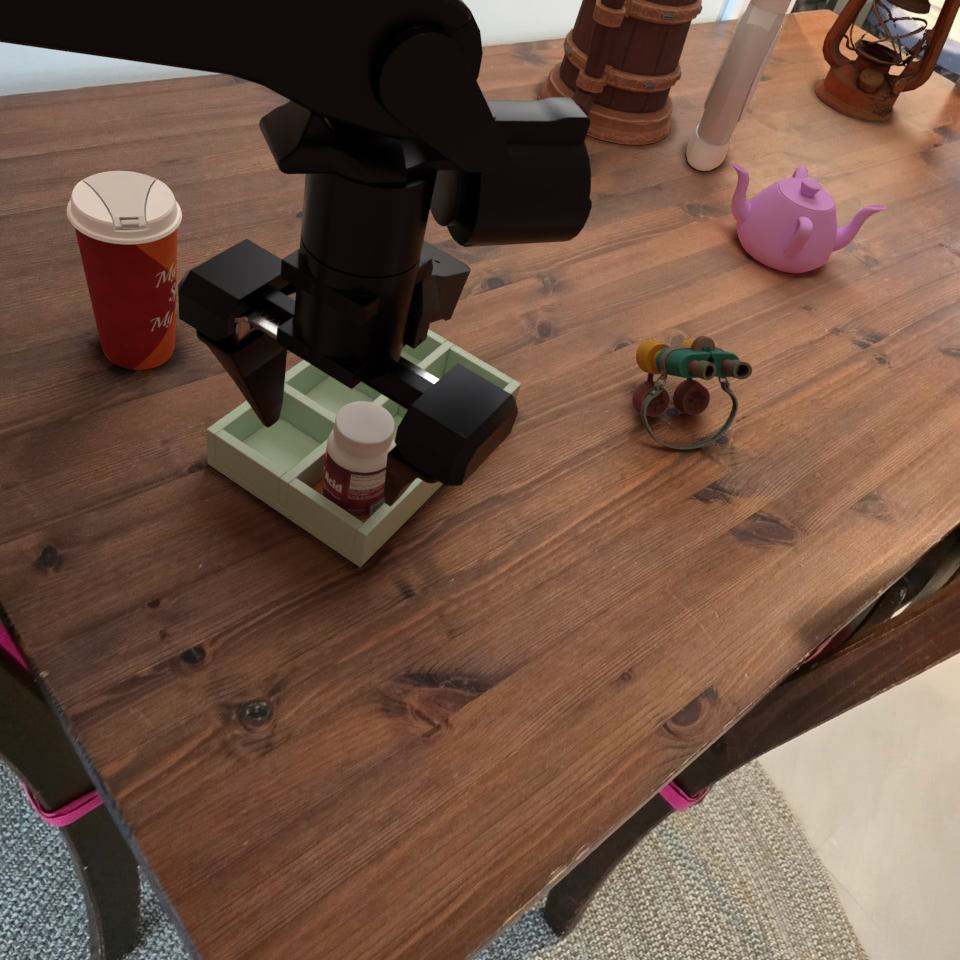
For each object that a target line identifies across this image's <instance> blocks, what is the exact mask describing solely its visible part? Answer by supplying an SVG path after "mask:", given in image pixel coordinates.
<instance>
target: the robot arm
mask: <svg viewBox="0 0 960 960" xmlns="http://www.w3.org/2000/svg"><path fill="white" fill-rule="evenodd" d="M0 43H3V44H11V45H18V46H25V47H32V48H39V49H47V50H53V51H59V52H67V53H74V54H81V55H88V56H95V57H102V58H110V59H117V60H123V61H129V62H137V63H143V64H151V65H159V66H165V67H172V68H179V69H185V70H186V69H187V70H193V71H199V72H206V73H213V74H214V73H215V74H221V75H228V76H233V77H236V78H239V79H242V80H244V81H248V82H251V83H253V84H257V85H259V86H262V87H264V88H267V89H269V90H270V91H272V92H274V93H276V94H278V95H280V96H281V97H283V98H285V99H287V100H289V101H287V102H286V103H284V104H281V105H278V106H276V107H275V108H273V109H272V110H271V111H269V112H268V113H266V114H265V115H263V116H262V117H260V119H259V122H258V126H259V129H260V132H261V134H262V136H263V138H264V140H265V142H266V144H267V146H268V148H269V151H270V153H271V155H272V157H273V160H274V161H275V164H276V166H277V168H278V170H279V171H280V172H281V173H282V174H284V175H285V174H286V175H305V178H304V179H305V180H304V191H303V202H302V203H303V205H302V214H301V215H302V217H301V228H300V229H301V230H300V239H299V248H298V249H296V250H295V251H293V252H292V253H290V254H288V255H286V256H284V257H283V258H281V257H279V256H277V255H275V254H274V253H272V252H270V251H269V250H267V249H265V248H264V247H261V246H260V245H258V244H257V243H256V242H253V241H252V240H250V239H249V238H245V239H243V240H241V241H240V242H238V243H236V244H234V245H232V246H230V247H229V248H227V249H225V250H223V251H221V252H219V253H218V254H216V255H214V256H212V257H210V258H209V259H207V260H205V261H203V262H201V263H199V264H197V265H196V266H194V267H192V268H191V269H189V270H187V271H185V272H184V275H183V276H182V278H181V279H180V281H179V283H178V284H177V298H178V299H177V300H178V319H179V320H181V321H182V322H183V323H185V324H187V325H188V326H190V327H191V328H192V329H195V334H196V337H197V339H198V340H199V341H200V342H201V343H203V344H204V345H206V346H207V348H208V349H209V350H210V352H211V353H212V354H213V356H214V357H215V358H216V360H217V361H218V362H219V363H220V365H221V366H222V367H223V369H224V370H225V372H226V373H227V374H228V376H229V378H230V379H231V380H232V382H234V384H235V385H236V387H237V389H239V391H240V393H241V394H242V395H243V397H244V398H245V401H246V400H247V402H248V403H249V405H250V406H251V408H252V409H253V411H254V412H255V414H256V415H257V417H258V418H259V420H260V421H261V423H262V424H263V425H264V426H266V427H267V428H269V427H271V426H272V425H273V424H274V423H276V422H277V421H278V420H279V418H280V413H281V409H282V404H283V397H284V384H285V372H287V371H286V370H287V359H288V358H287V357H288V352H290V353H292V354H293V355H295V356H297V357H298V358H300V359H301V360H305V361H306V362H308V363H309V364H311V365H313V366H314V367H316V368H318V369H319V370H321V371H323V372H324V373H326V374H327V375H329V376H331V377H332V378H334V379H336V380H337V381H339V382H340V383H342V384H344V385H345V386H347V387H349V388H350V389H353V388H354V387H355V386H356V385H358V384H359V383H360V382H363V383H364V384H366V385H367V386H369V387H371V388H372V389H374V390H376V391H377V392H379V393H381V394H382V395H384V396H385V397H387V398H389V399H390V400H392V401H394V402H395V403H397V404H399V405H400V406H402V407H403V408H405V409H407V410H408V411H407V412H406V414H405V416H404V417H403V419H402V421H401V422H400V424H399V426H398V428H397V433H396V437H395V443H396V446H395V447H394V448H393V449H392V450H391V451H390V452H388V454H387V463H386V474H385V484H384V499H385V503H386V504H387V505H389V506H392V505H393V504H394V503H395V502H396V501H397V500H398V499H399V498H400V497H401V496H402V495H403V493H404V492H405V491H406V490H407V489H408V487H409V486H410V485H411V484H412V483H413V481H414V480H415V479H417V478H419V479H421V480H422V481H424V482H426V483H431V484H432V483H437V482H441V483H442V484H443V485H444V486H446V487H457V486H460V487H461V486H463V485H464V483H466V481H467V480H468V479H469V478H470V477H471V476H472V475H473V474H474V473H475V472H476V471H477V470H478V469H479V467H480V466H481V465H482V464H483V463H484V462H485V461H486V460H487V459H488V458H489V457H490V456H491V455H492V454H493V453H494V452H495V450H496V449H497V448H498V447H499V446H500V445H501V444H502V443H503V442H504V441H505V440H506V439H507V437H509V436H510V434H512V431H513V428H514V425H515V422H516V419H517V417H518V414H519V407H518V405H517V404H518V403H517V399H516V398H515V397H514V396H513V395H512V394H510V393H508V392H507V391H505V390H503V389H502V388H500V387H498V386H496V385H495V384H493V383H491V382H490V381H488V380H486V379H485V378H483V377H481V376H479V375H478V374H476V373H474V372H473V371H471V370H469V369H468V368H466V367H464V366H462V365H461V364H459V363H457V364H456V365H455V366H454V367H453V368H452V369H450V370H449V371H448V372H447V373H446V374H445V375H444V376H443V377H441V378H440V379H439V378H437V377H435V376H433V375H432V374H430V373H428V372H427V371H425V370H423V369H422V368H420V367H418V366H417V365H415V364H413V363H412V362H410V361H408V360H407V359H405V358H403V357H402V356H401V351H402V348H403V347H405V346H406V345H408V346H409V347H411V348H413V349H415V348H416V347H417V346H418V345H420V344H421V343H422V342H423V341H425V340H426V338H427V334H428V329H429V330H430V325H431V324H432V323H435V322H439V321H442V320H444V321H445V322H447V321H449V320H451V319H452V318H453V314H454V312H455V310H456V307H457V305H458V303H459V300H460V298H461V295H462V292H463V291H464V288H465V285H466V283H467V280H468V278H469V276H470V273H471V270H472V269H471V267H470V265H468V264H467V263H465V262H463V261H462V260H460V259H458V258H457V257H455V256H453V255H451V254H450V253H447V252H446V251H445V250H442V249H440V247H437V246H436V245H434V244H431V243H429V242H428V241H426V240H425V235H426V232H427V226H428V221H429V216H430V213H431V215H432V217H433V219H434V221H435V222H436V224H438V225H439V226H441V227H446V229H447V230H448V233H449V234H450V236H451V238H452V240H454V241H455V242H456V243H457V245H459V246H461V247H463V248H475V247H491V246H509V245H527V244H528V245H529V244H544V243H545V244H547V243H561V242H569V241H571V240H573V239H575V238H576V237H577V236H578V235H579V234H580V233H581V232H582V230H583V229H584V227H585V226H586V224H587V221H588V219H589V218H590V214H591V211H592V207H593V201H592V199H591V191H592V170H591V162H590V161H591V160H590V156H589V152H588V149H587V144H586V142H585V141H586V138H587V136H588V135H587V132H588V129H589V126H590V123H591V121H590V119H589V118H588V116H587V115H586V114H585V113H584V112H583V111H582V110H581V108H580V107H579V106H578V105H577V104H576V103H575V102H574V100H573V99H572V98H569V97H550V98H545V99H541V98H540V99H536V100H510V99H509V100H505V99H504V100H502V99H486V98H485V96H484V94H483V91H482V89H481V86H480V85H479V83H478V81H477V80H478V78H479V76H480V72H481V65H482V60H483V54H484V51H483V43H482V35H481V29H480V27H479V26H478V23H477V21H476V19H475V17H474V15H473V12H472V10H471V9H470V8H469V7H468V5H467V4H466V3H465V2H464V1H463V0H0ZM293 294H295V299H293V298H291V297H290V295H293Z"/></svg>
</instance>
